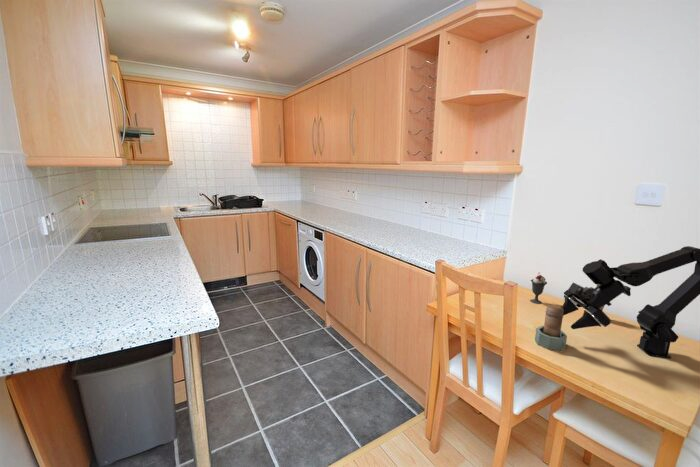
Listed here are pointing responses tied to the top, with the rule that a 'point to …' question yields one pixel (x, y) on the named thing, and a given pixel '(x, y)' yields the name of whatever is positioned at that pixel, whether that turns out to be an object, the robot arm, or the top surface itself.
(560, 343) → the pot
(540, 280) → the sundae
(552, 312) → the pepper mill
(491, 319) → the top surface
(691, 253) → the robot arm
